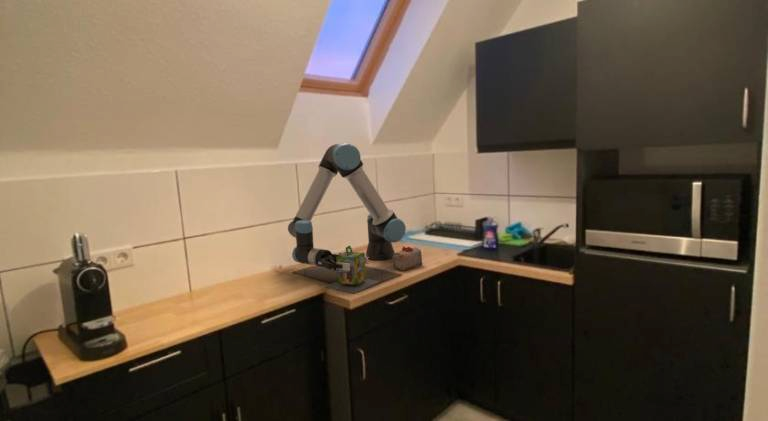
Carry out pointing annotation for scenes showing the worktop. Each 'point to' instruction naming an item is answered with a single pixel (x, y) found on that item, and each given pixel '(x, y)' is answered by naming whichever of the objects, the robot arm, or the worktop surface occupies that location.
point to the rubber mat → (353, 286)
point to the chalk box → (351, 267)
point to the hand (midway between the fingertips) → (358, 263)
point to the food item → (407, 258)
